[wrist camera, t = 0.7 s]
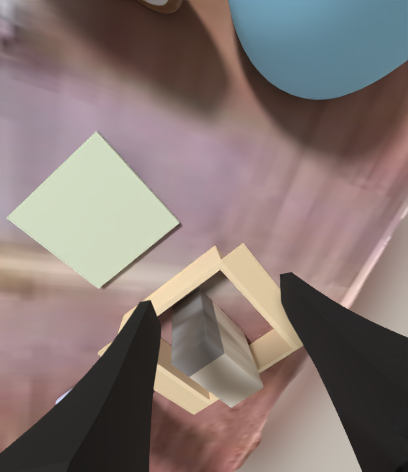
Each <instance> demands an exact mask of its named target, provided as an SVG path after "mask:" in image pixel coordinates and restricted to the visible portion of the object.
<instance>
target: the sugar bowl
mask: <svg viewBox="0 0 408 472" xmlns="http://www.w3.org/2000/svg"><path fill="white" fill-rule="evenodd" d="M228 2H229V6H230V11H231V16H232V20H233V23H234V26H235V29H236V32H237V35H238V38H239V40H240V42H241V44H242V47H243V49H244V51H245V52H246V54H247V56H248V57H249V59H250V61H251V62H252V64H253V65H254V66H255V67H256V69H257V70H258V71H259V72H260V73H261V74H262V75H263V76H264V77H265V78H266V79H267V80H268V81H269V82H270V83H272V84H273V85H275V86H276V87H277V88H279V89H281V90H283V91H285V92H287V93H289V94H291V95H294V96H298V97H301V98H305V99H314V100H324V99H332V98H337V97H341V96H344V95H347V94H350V93H352V92H355V91H358V90H360V89H362V88H364V87H366V86H368V85H370V84H372V83H374V82H376V81H377V80H379V79H381V78H382V77H384V76H386V75H387V74H389V73H390V72H391V71H393V70H394V69H396V68H397V67H399V66H400V65H402V64H403V63H405V62H406V61H407V60H408V0H228Z"/></svg>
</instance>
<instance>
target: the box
mask: <svg viewBox="0 0 408 472" xmlns="http://www.w3.org/2000/svg"><path fill="white" fill-rule="evenodd" d="M171 364H172V365H173V366H174V367H176V368H177V369H179V370H180V371H181V372H183V373H184V374H186V375H187V376H188V377H190V378H191V379H192V380H194V381H195V382H197V383H198V384H199V385H201V386H202V387H204V388H205V389H206V390H208V391H209V392H210V393H212V394H213V395H215V396H216V397H217V398H219V399H220V400H222V401H223V402H224V403H226V404H227V405H228V406H230V407H233V406H234V405H236V404H238V403H239V402H241V401H243V400H244V399H246V398H247V397H249V396H251V395H252V394H254V393H255V392H257V391H259V390H260V389H262V388H264V387H263V384H262V381H261V378H260V376H259V373H258V370H257V368H256V365H255V362H254V359H253V357H252V354H251V351H250V349H249V346H248V343H247V340H246V338H245V335H244V332H243V331H242V330H241V329H240V328H239V327H238V326H237V325H236V324H235V323H234V322H233V321H232V320H231V319H230V318H229V317H228V316H227V315H226V314H225V313H224V312H223V311H222V310H221V309H220V308H219V307H218V306H217V305H216V304H215V303H214V302H213V301H212V300H211V299H210V298H209V297H208V296H207V295H206V294H205V293H204V292H203V291H201V290H200V289H198V290H197V291H195V292H194V293H193V294H191V295H190V296H189V297H187V298H186V299H185V300H183V301H182V302H181V303H179V304H178V305H177V306H175V307H174V308H173V316H172V355H171Z"/></svg>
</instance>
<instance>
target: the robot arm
mask: <svg viewBox="0 0 408 472" xmlns="http://www.w3.org/2000/svg"><path fill="white" fill-rule="evenodd" d="M280 288H281V304H282V306H283V308H284V311H285V313H286V315H287V317H288V320H289V321H290V323H291V325H292V327H293V328H294V330H295V332H296V333H297V335H298V337H299V339H300V340H301V342H302V344H303V345H304V347H305V349H306V350H307V352H308V354H309V356H310V357H311V359H312V361H313V363H314V364H315V366H316V368H317V370H318V372H319V374H320V377H321V379H322V381H323V383H324V384H325V387H326V389H327V391H328V393H329V396H330V398H331V400H332V402H333V405H334V407H335V408H336V411H337V413H338V416H339V418H340V420H341V422H342V425H343V427H344V429H345V432H346V434H347V436H348V439H349V441H350V443H351V446H352V448H353V450H354V453H355V455H356V457H357V460H358V463H359V465H360V467H361V470H362V472H408V338H407V337H405V336H403V335H400V334H398V333H396V332H394V331H391V330H389V329H387V328H384V327H382V326H380V325H378V324H376V323H374V322H371V321H369V320H368V319H365V318H364V317H362V316H360V315H358V314H356V313H354V312H352V311H350V310H348V309H347V308H345V307H343V306H341V305H340V304H338V303H336V302H335V301H333V300H331V299H330V298H328V297H327V296H325V295H324V294H322V293H321V292H319V291H317V290H316V289H315V288H313V287H312V286H310V285H309V284H307V283H306V282H304V281H303V280H302V279H300V278H299V277H297V276H296V275H295V274H293V273H292V272H290V273H285V274H280ZM160 341H161V324H160V322H159V319H158V317H157V314H156V312H155V309H154V307H153V304H152V302H151V300H147V301H142V302H140V303H139V304H138V305H137V307H136V308H135V310H134V311H133V313H132V314H131V316H130V317H129V319H128V320H127V322H126V323H125V325H124V326H123V328H122V329H121V331H120V332H119V334H118V335H117V336H116V338H115V339H114V341H113V342H112V343H111V344H110V346H109V347H108V348H107V350H106V351H105V352H104V354H103V355H102V356H101V357H100V359H99V360H98V361H97V362H96V363H95V365H94V366H93V367H92V368H91V369H90V370H89V371H88V373H87V374H86V375H85V376H84V377H83V378H82V379H81V380H80V381H79V382H78V383H77V384H76V385H75V386H74V387H73V388H72V389H71V390H69V391H68V392H67V393H65V394H64V395H62V396H61V397H60V398H58V399H57V401H56V405H55V406H54V407H53V408H52V409H51V410H50V411H49V412H48V413H47V414H46V415H45V416H43V417H42V418H41V419H40V420H39V421H38V422H37V423H36V424H35V425H33V426H32V427H31V428H30V429H29V430H28V431H26V432H25V433H24V434H23V435H22V436H20V437H19V438H18V439H17V440H16V441H15V442H13V443H12V444H11V445H10V446H9V447H7V448H6V449H5V450H4V451H2V452H1V453H0V472H149V452H150V430H151V412H152V398H153V390H154V383H155V376H156V370H157V364H158V357H159V350H160Z"/></svg>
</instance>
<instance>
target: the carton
mask: <svg viewBox="0 0 408 472" xmlns="http://www.w3.org/2000/svg"><path fill="white" fill-rule="evenodd" d="M219 270H221V271H222V272H223V273H224V274H225V275H226V276H227V278H228V279H229V280H230V281H231V282H232V283H233V284H234V285H235V286H236V287H237V288H238V290H239V291H240V292H241V293H242V294H243V295H244V296H245V297H246V298H247V299H248V301H249V302H250V303H251V304H252V305H253V306H254V307H255V308H256V309H257V310H258V311H259V313H260V314H261V315H262V316H263V317H264V318H265V319H266V320H267V321H268V322H269V324H270V325H271V326H272V327H273V328H274V329H272V330H271V331H269V332H268V333H266V334H265V335H263V336H262V337H260V338H259V339H257V340H256V341H254V342H253V343H251V344H250V345H248V346H249V349H250V351H251V354H252V357H253V359H254V362H255V365H256V368H257V370H258V373H261V372H262V371H264V370H265V369H267V368H269V367H270V366H272V365H273V364H275V363H277V362H278V361H280V360H281V359H283V358H284V357H286V356H288V355H289V354H291V353H292V352H294V351H296V350H297V349H299V348H300V347H302V346H303V344H302V342H301V340H300V339H299V337H298V335H297V333H296V332H295V330H294V328H293V327H292V325H291V323H290V321H289V320H288V317H287V315H286V313H285V311H284V308H283V306H282V304H281V290H280V289H279V287H278V286H277V285H276V284H275V282H274V281H273V280H272V279H271V277H270V276H269V275H268V274H267V272H266V271H265V270H264V269H263V267H262V266H261V265H260V264H259V262H258V261H257V260H256V259H255V257H254V256H253V255H252V254H251V252H250V251H249V250H248V249H247V247H246V246H245V245H244V243H243V244H241V245H240V246H239V247H237V248H236V249H235V250H233V251H232V252H231V253H229V254H228V255H227V256H224V255H223V254H222V253H221V251H220V250H219V249H218V248H217V247H216V246H214V247H212V248H211V249H210V250H208V251H207V252H206V253H204V254H203V255H202V256H201V257H199V258H198V259H197V260H195V261H194V262H193V263H191V264H190V265H189V266H188V267H186V268H185V269H184V270H182V271H181V272H180V273H178V274H177V275H176V276H175V277H173V278H172V279H171V280H169V281H168V282H167V283H165V284H164V285H163V286H161V287H160V288H159V289H158V290H156V291H155V292H154V293H152V294H151V295H150V296H148V297H147V298H146V299H145V300H143V301H147V300H151V302H152V304H153V307H154V309H155V312H156V314H157V316H158V315H160V314H161V313H163V312H164V311H165V310H167V309H168V308H169V307H171V306H172V305H173V304H175V303H176V302H177V301H179V300H180V299H181V298H183V297H184V296H185V295H187V294H188V293H189V292H191V291H192V290H194V289H195V288H196V287H198V286H199V285H200V284H202V283H203V282H204V281H206V280H207V279H208V278H210V277H211V276H212V275H214V274H215V273H216V272H218V271H219ZM136 307H137V306H135V307H134V308H133V309H131V310H130V311H129V312H128V313H126V314H125V315H124V316H123V319H122V322H121V326H120V329H119V332H120V331H121V329H122V328H123V326H124V325H125V323H126V322H127V320H128V319H129V317H130V316H131V314H132V313H133V311H134V310H135V308H136ZM119 332H118V334H119ZM113 341H114V340H113ZM113 341H112V342H113ZM112 342H111V343H112ZM111 343H109V344H108V345H107V346H105V347H104V348H103V349H101V350H100V351H99V352H98V355H100V356H102V355H103V354H104V352H105V351H106V350H107V348H108V347H109V346H110V344H111ZM171 355H172V346H171V345H169V344H168V343H167V342H165V341H164V340H163V339H161V341H160V350H159V357H158V364H157V370H156V376H155V383H154V390H155V391H157V392H158V393H160V394H162V395H163V396H165V397H166V398H168V399H169V400H171V401H173V402H174V403H176V404H177V405H179V406H181V407H182V408H184V409H185V410H187V411H188V412H190V413H192V414H193V415H194V414H196V413H197V412H199V411H201V410H202V409H204V408H205V407H207V406H208V405H210V404H212V403H213V402H215V401H216V400H218V399H219V398H217V397H216V396H215V395H213V394H212V393H210V392H209V391H208V390H206V389H205V388H204V387H202V386H201V385H199V384H198V383H197V382H195V381H194V380H192V379H191V378H190V377H188V376H187V375H186V374H184V373H183V372H181V371H180V370H179V369H177V368H176V367H174V366H173V365H172V364H171Z"/></svg>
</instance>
